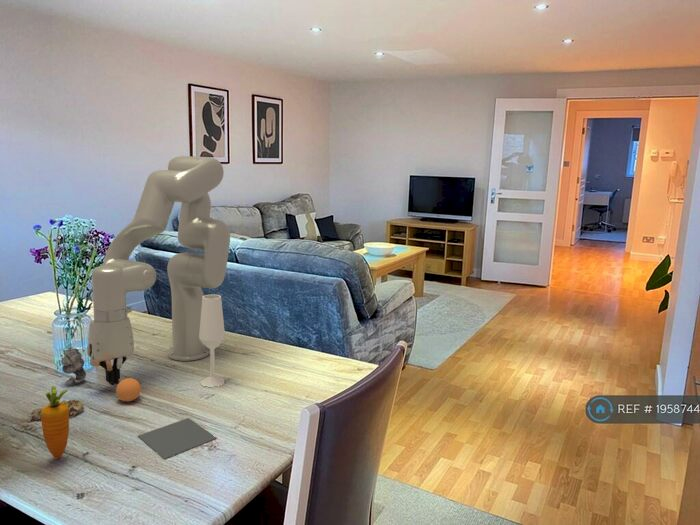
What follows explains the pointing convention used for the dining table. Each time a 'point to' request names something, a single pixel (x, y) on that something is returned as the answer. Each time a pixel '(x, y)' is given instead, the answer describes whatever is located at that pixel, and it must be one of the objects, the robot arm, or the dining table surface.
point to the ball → (128, 389)
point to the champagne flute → (212, 332)
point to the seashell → (73, 365)
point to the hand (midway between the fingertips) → (113, 382)
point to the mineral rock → (73, 405)
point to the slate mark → (176, 438)
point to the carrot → (55, 423)
